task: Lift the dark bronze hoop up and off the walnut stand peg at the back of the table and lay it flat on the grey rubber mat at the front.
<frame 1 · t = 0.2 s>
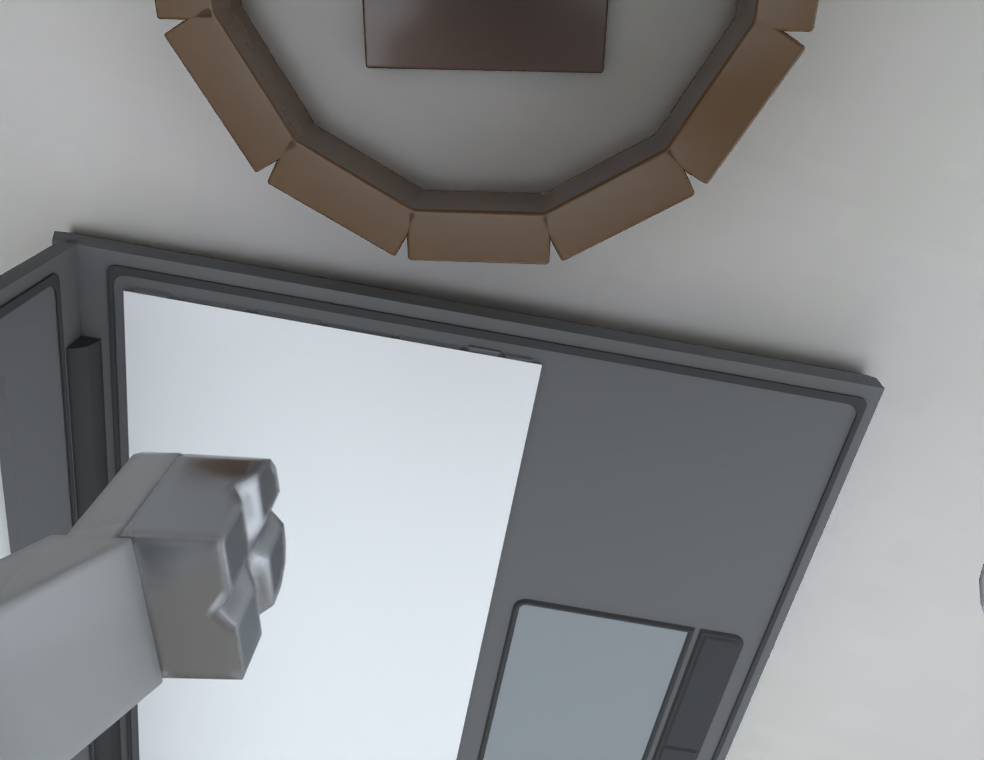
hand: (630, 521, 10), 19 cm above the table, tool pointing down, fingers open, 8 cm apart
laptop: (410, 664, 37), on the table
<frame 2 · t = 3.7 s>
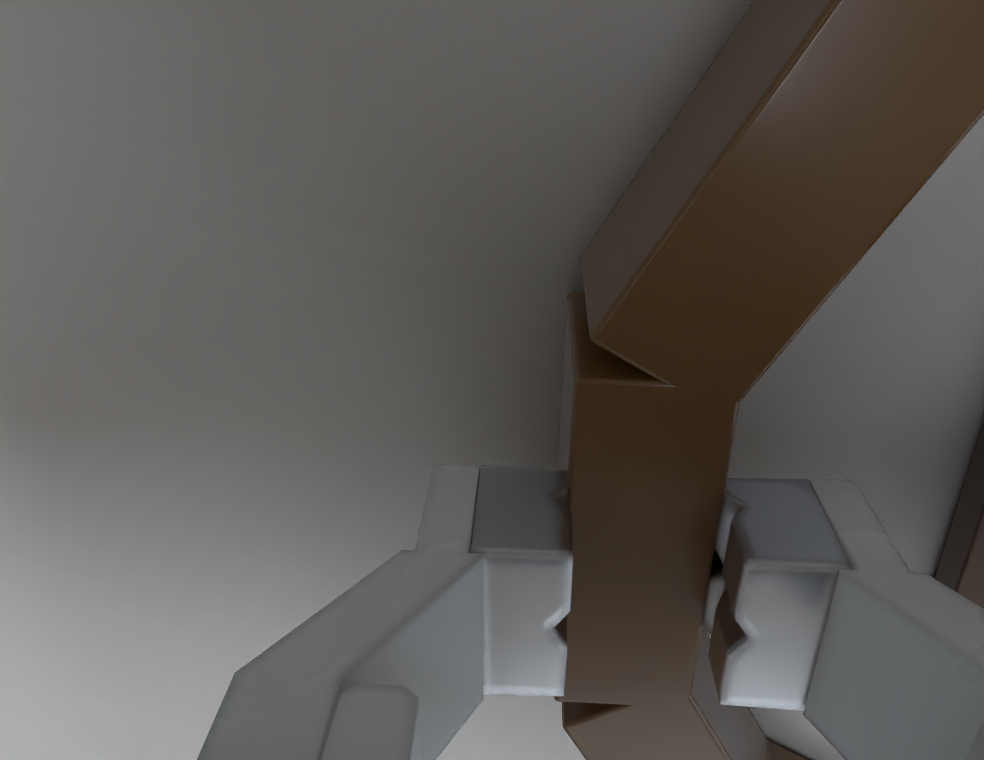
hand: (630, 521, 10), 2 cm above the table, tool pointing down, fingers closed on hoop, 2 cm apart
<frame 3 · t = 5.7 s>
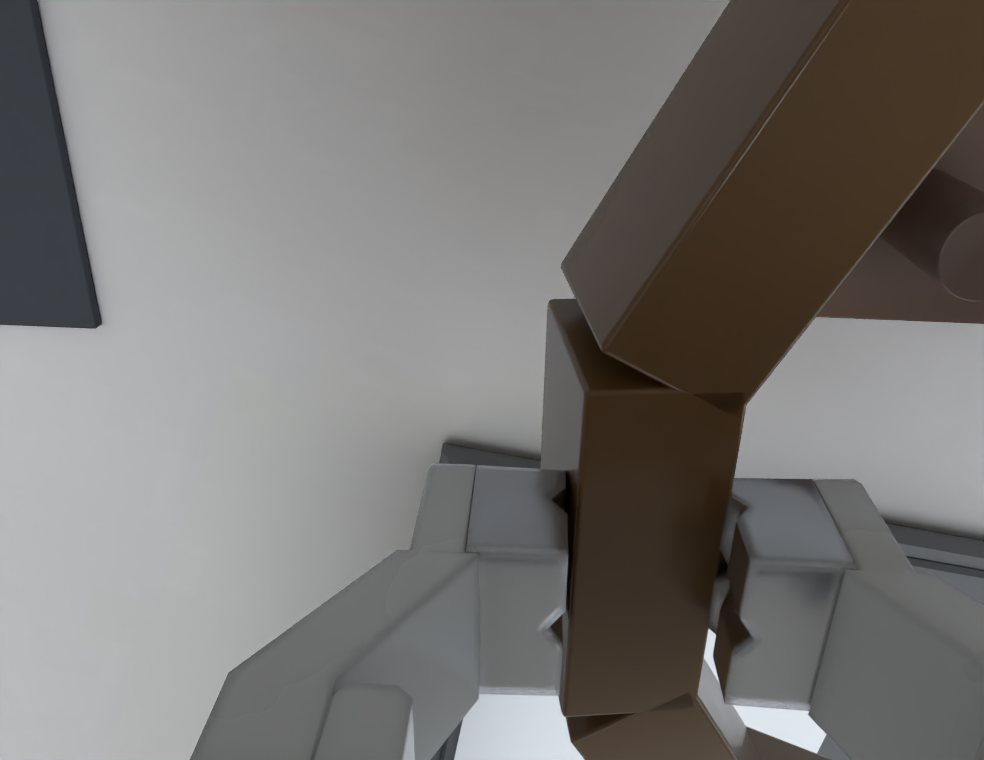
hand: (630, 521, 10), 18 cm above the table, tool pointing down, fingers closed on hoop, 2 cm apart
stand: (909, 204, 25), on the table
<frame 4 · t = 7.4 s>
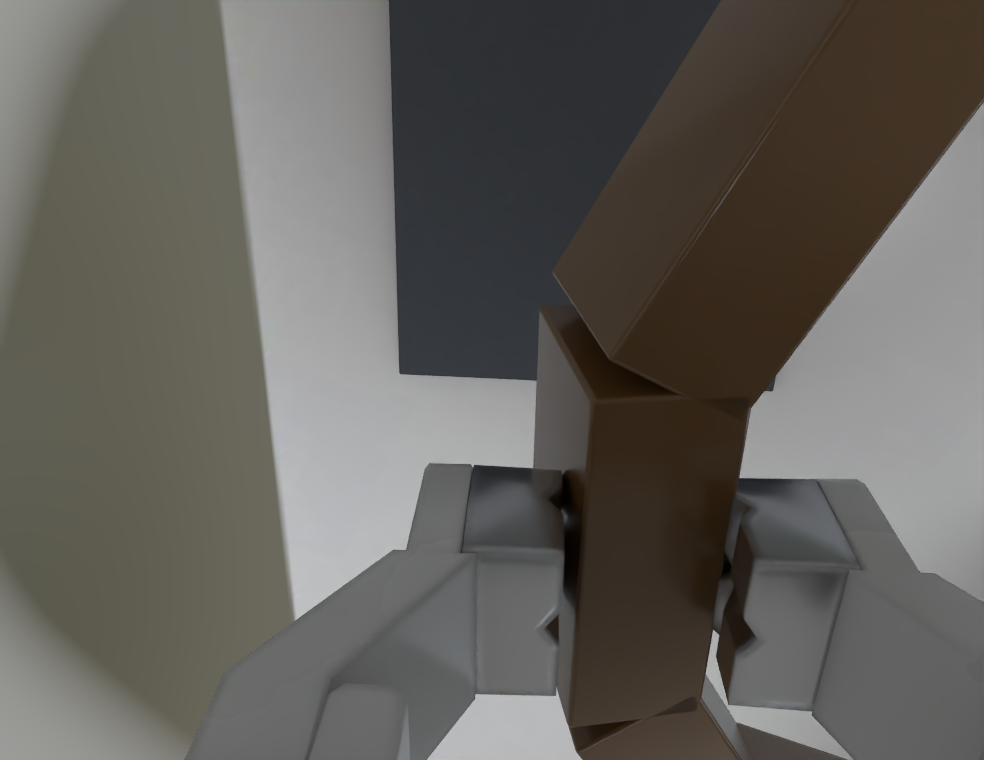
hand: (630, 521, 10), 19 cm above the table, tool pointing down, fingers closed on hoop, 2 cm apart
mat: (603, 147, 26), on the table
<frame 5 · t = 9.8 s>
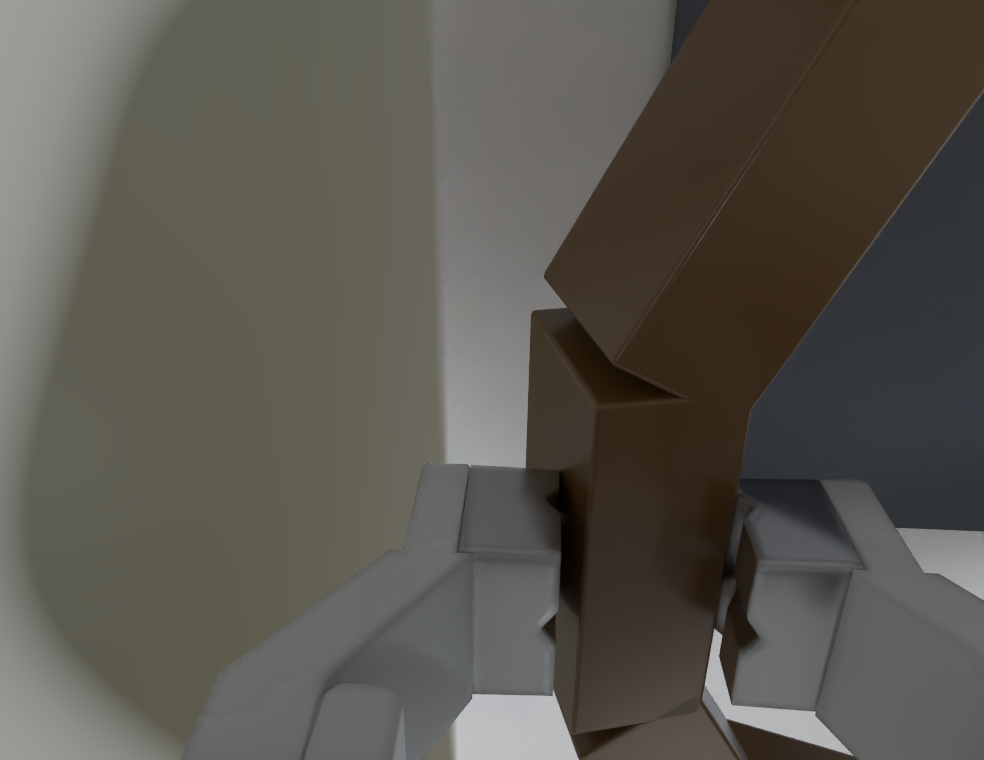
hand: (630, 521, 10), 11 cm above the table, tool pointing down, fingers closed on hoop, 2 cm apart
mat: (940, 233, 19), on the table
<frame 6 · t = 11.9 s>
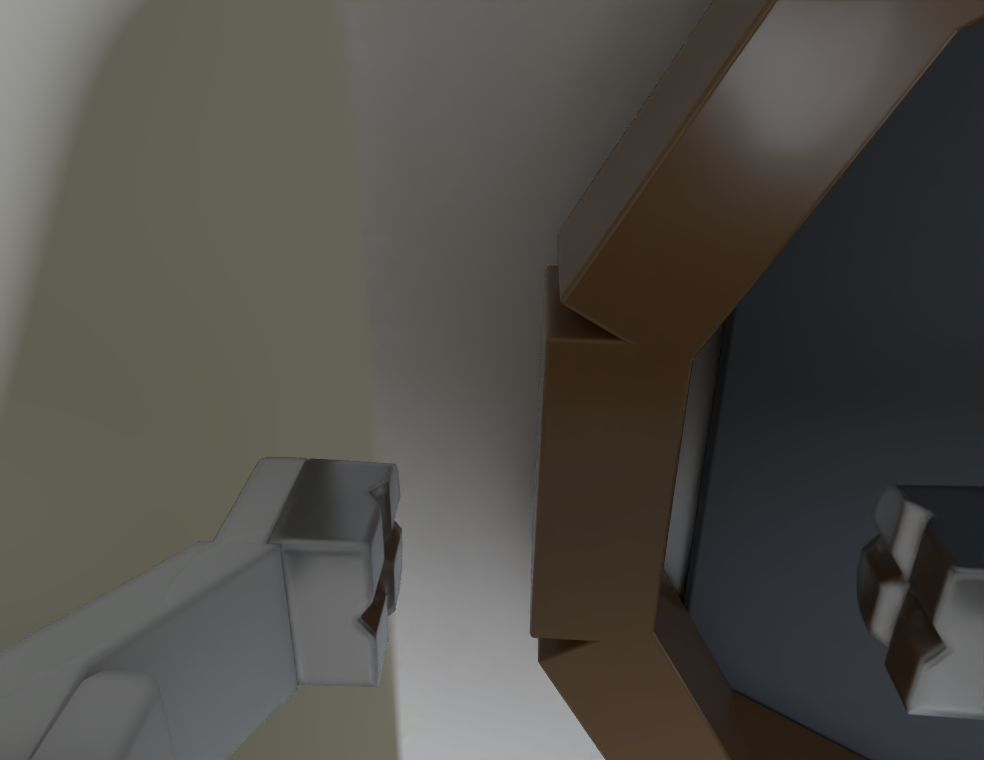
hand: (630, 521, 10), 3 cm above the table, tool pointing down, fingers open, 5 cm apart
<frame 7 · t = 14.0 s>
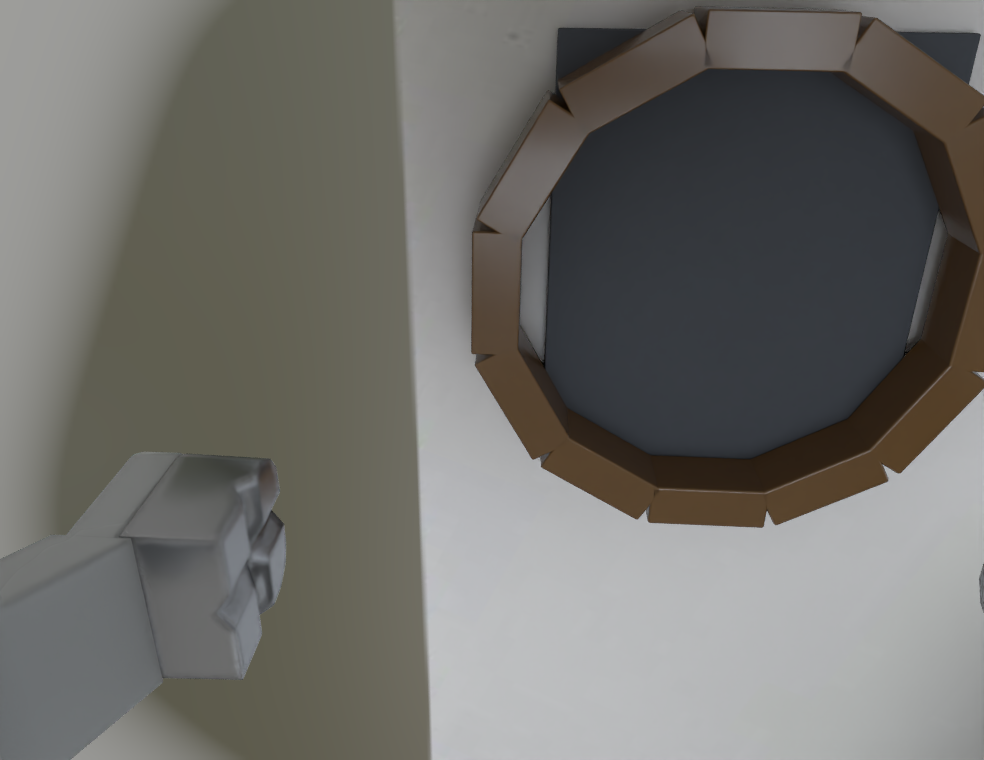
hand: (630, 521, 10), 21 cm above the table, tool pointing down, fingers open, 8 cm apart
hoop: (725, 280, 30), resting on mat
mat: (731, 273, 30), on the table
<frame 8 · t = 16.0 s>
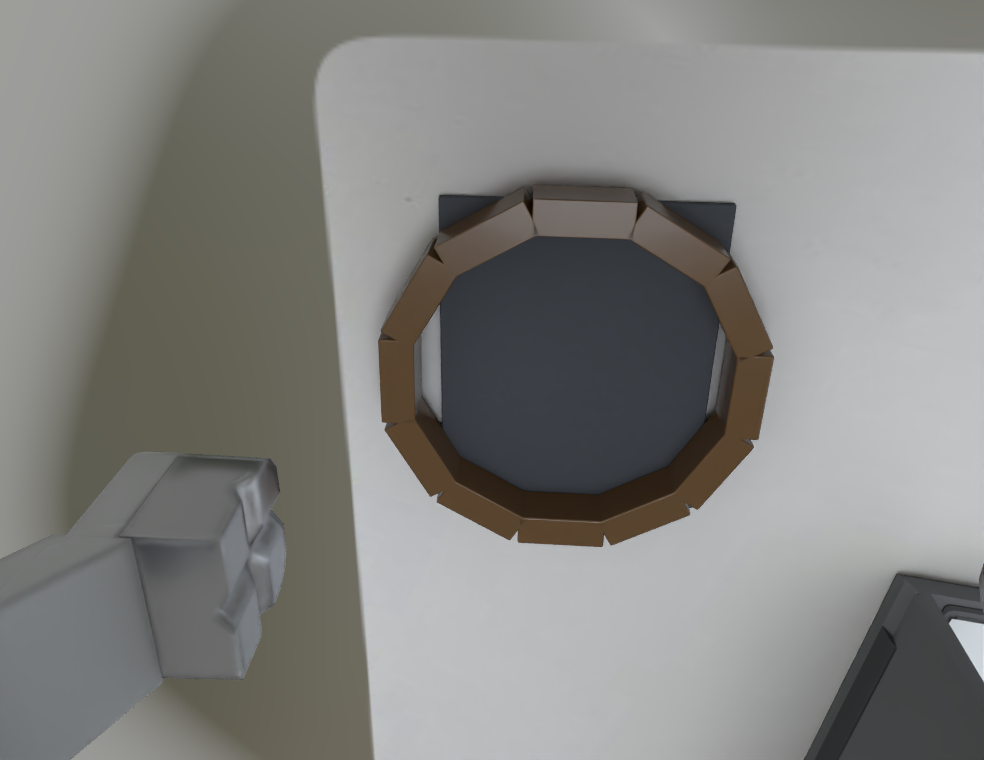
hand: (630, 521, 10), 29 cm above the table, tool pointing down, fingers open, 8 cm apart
hoop: (570, 367, 41), resting on mat
mat: (575, 361, 41), on the table
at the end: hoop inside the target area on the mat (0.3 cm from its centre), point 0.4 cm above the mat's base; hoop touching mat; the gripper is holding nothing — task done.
